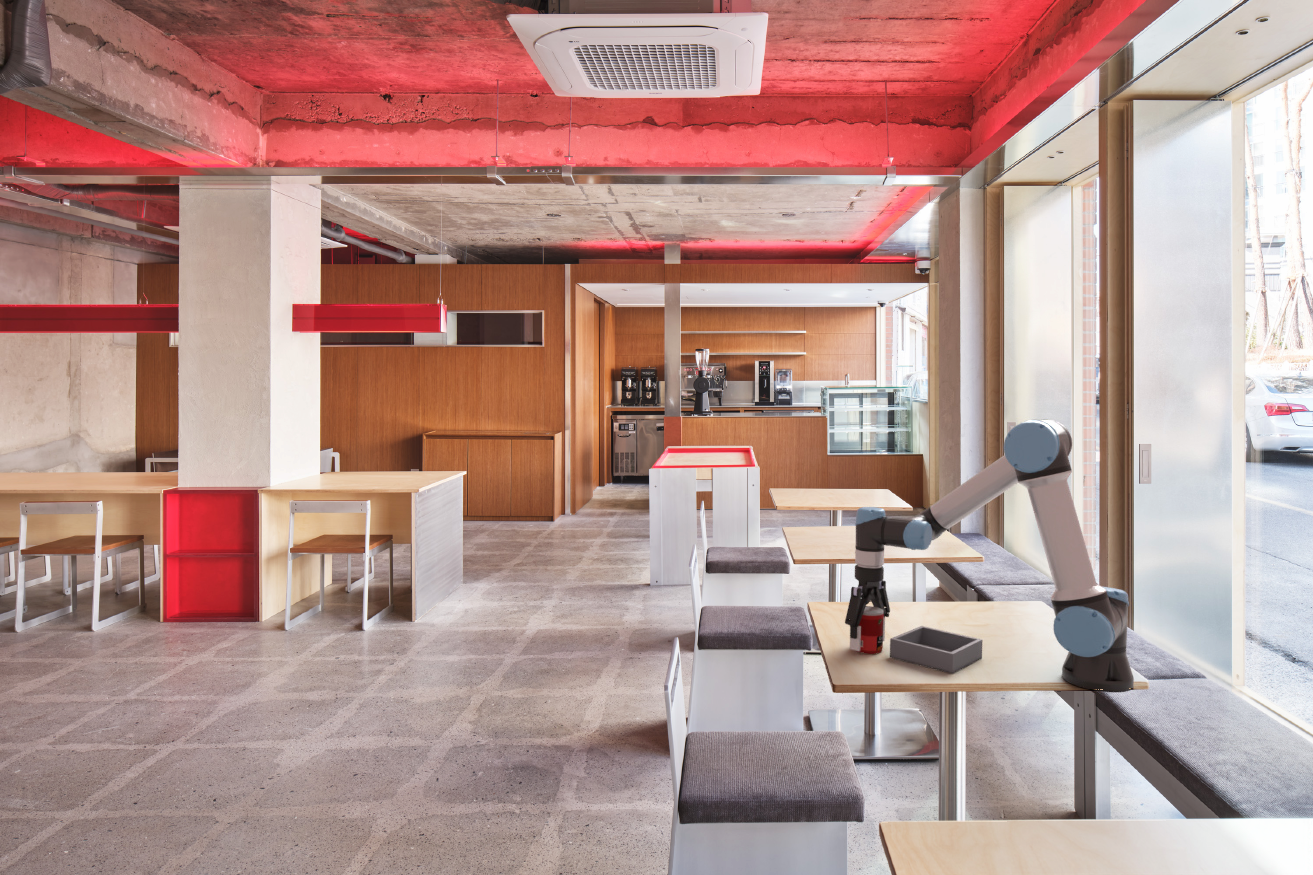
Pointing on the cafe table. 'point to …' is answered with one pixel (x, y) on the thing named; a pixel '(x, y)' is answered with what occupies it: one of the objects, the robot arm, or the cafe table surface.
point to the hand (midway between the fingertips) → (867, 644)
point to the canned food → (871, 630)
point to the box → (936, 649)
